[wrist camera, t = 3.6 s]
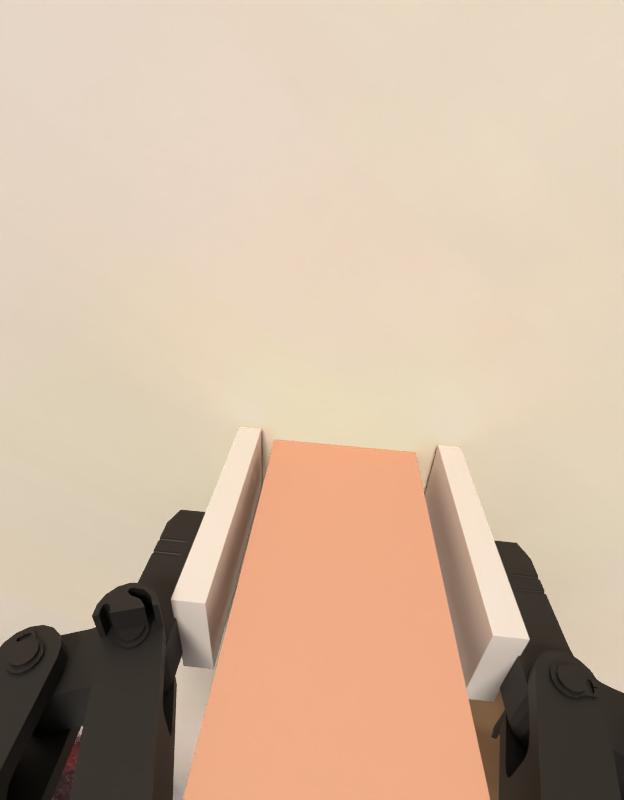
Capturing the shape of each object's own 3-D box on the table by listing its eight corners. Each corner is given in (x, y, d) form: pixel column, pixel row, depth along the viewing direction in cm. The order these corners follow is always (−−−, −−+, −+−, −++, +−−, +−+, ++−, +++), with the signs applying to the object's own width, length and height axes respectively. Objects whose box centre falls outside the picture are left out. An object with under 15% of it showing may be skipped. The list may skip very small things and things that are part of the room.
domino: (407, 486, 16) (477, 896, 7) (274, 473, 16) (185, 859, 7) (415, 452, 15) (505, 871, 6) (274, 439, 15) (175, 830, 6)
